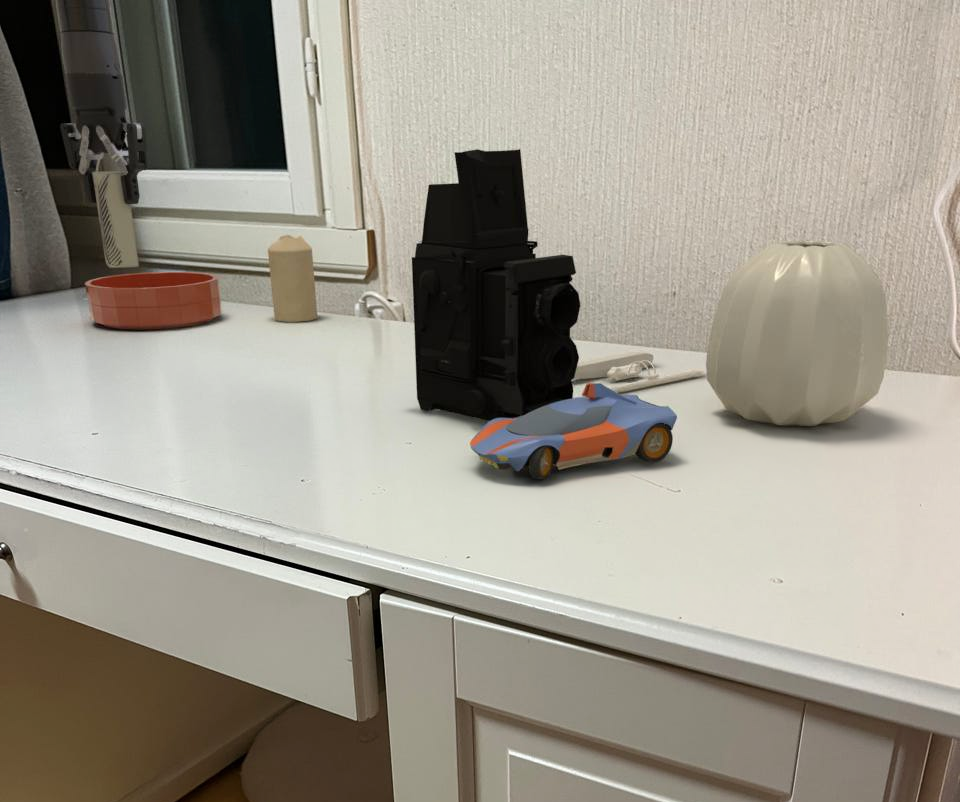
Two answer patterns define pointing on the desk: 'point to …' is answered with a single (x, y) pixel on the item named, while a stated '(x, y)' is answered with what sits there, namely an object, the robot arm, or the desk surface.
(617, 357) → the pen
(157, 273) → the bowl
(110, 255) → the box
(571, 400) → the toy car
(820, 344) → the vase
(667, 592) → the desk surface
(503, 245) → the camera
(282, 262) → the candle
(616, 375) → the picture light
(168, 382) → the desk surface
